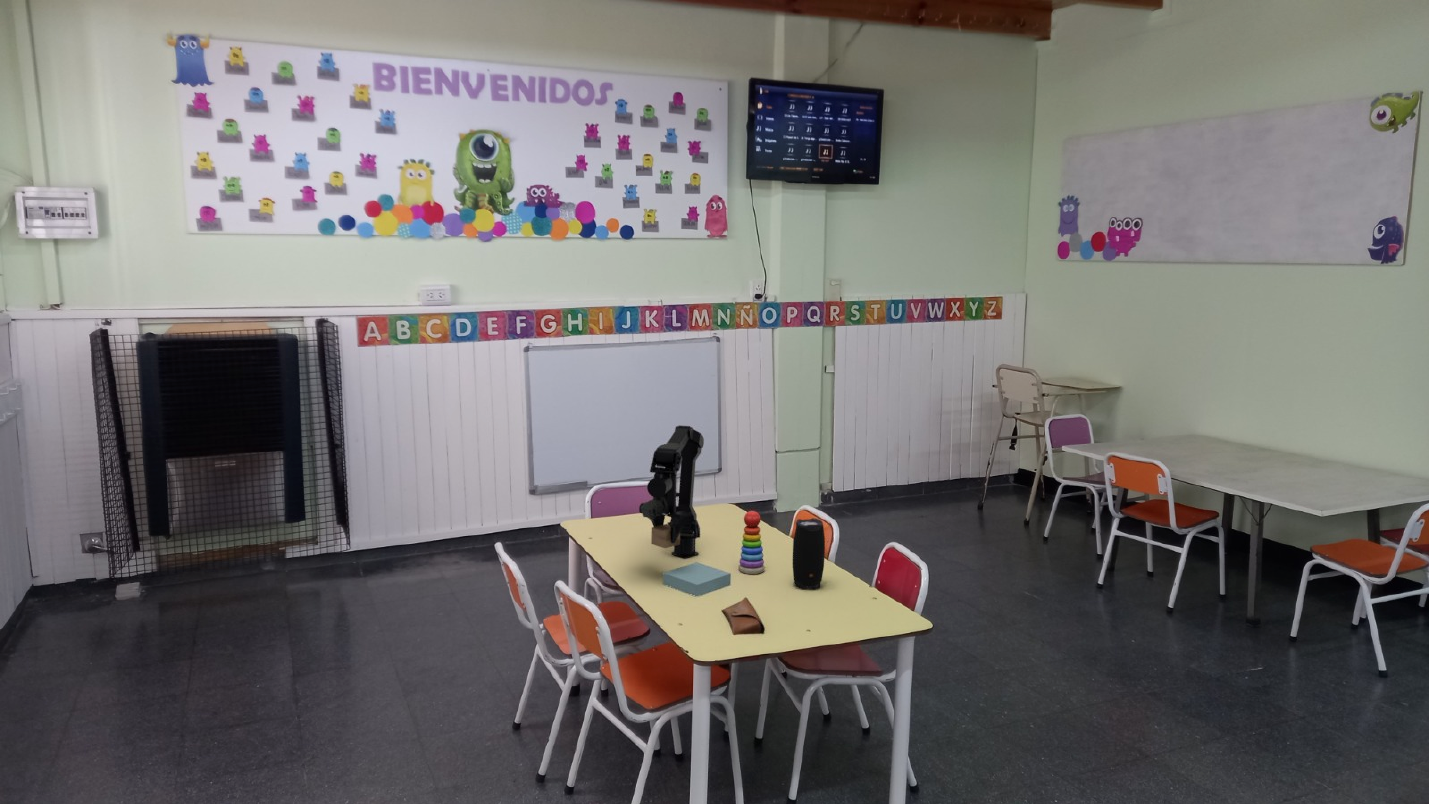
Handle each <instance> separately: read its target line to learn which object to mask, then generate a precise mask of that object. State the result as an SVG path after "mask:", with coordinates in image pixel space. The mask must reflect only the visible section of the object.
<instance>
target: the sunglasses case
mask: <svg viewBox="0 0 1429 804" xmlns="http://www.w3.org/2000/svg"><path fill="white" fill-rule="evenodd" d="M721 613H722V614H724V617H725V618H726V619H727V622H728V623H729V626H730V628H731V630H732V634H733V635H734V636H738V635H758V634H762V635H763V634H764V633H765V631H766V627H765V625H764V624H763V622H762V619H761V617H760V616H759V614H758V612H757V610H756V609H755V608H754V606H753V604H752V603H751V602H750V600H749V599H748V597H744V598H743V599H742V600H740V601H738V602H736V603H733V604H731V605H729V606H728V607H725V608H724V609H721Z"/></svg>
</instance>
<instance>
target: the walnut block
mask: <svg viewBox="0 0 1429 804" xmlns="http://www.w3.org/2000/svg"><path fill="white" fill-rule="evenodd" d="M650 544H651V545H653V546H657V547H660V548H662V549H667V548H668V549H669V548H673V547H674V546H676V545H680V533H679V535H678V537H677V539H676V541H675V543H671V528H670V526H669V525H668V523H664V525H660V526H656V527H653V526H651V543H650Z"/></svg>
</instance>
